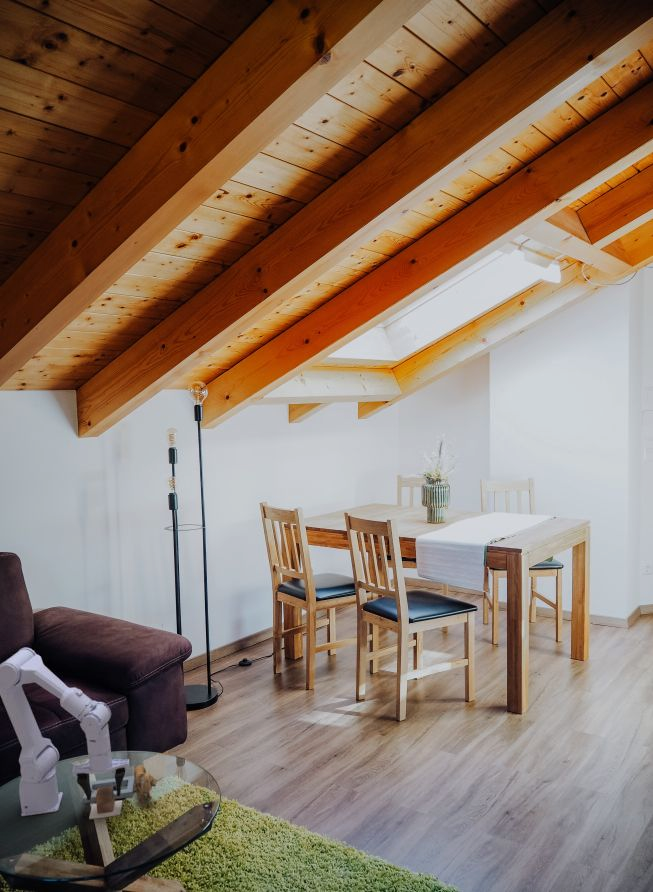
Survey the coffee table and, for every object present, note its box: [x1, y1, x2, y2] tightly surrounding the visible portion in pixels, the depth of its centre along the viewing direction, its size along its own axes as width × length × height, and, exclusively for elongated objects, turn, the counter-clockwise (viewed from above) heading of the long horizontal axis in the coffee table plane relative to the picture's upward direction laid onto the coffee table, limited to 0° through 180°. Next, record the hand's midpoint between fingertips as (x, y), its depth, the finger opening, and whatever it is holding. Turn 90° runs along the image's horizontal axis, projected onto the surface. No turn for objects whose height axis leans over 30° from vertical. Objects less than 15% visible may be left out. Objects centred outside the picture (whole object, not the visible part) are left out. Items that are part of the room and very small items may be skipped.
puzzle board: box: [82, 775, 135, 804], centre depth 213 cm, size 13×8×2 cm, turn 98°
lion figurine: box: [133, 764, 158, 805], centre depth 211 cm, size 15×5×9 cm, turn 31°
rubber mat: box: [89, 799, 123, 820], centre depth 206 cm, size 8×6×1 cm
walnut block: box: [95, 786, 116, 814], centre depth 205 cm, size 4×4×5 cm
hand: (104, 795), depth 205 cm, fingers open, 7 cm apart
